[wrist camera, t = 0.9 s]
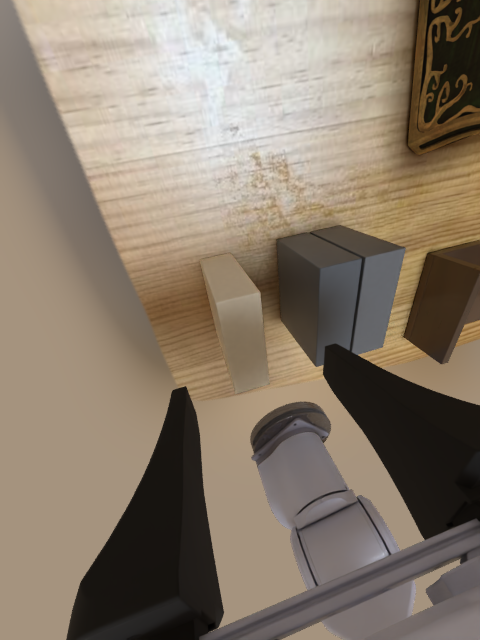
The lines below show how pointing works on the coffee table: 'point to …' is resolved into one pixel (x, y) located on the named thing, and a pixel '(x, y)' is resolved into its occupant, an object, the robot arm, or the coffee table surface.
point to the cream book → (237, 321)
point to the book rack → (445, 300)
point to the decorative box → (445, 74)
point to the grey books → (337, 289)
